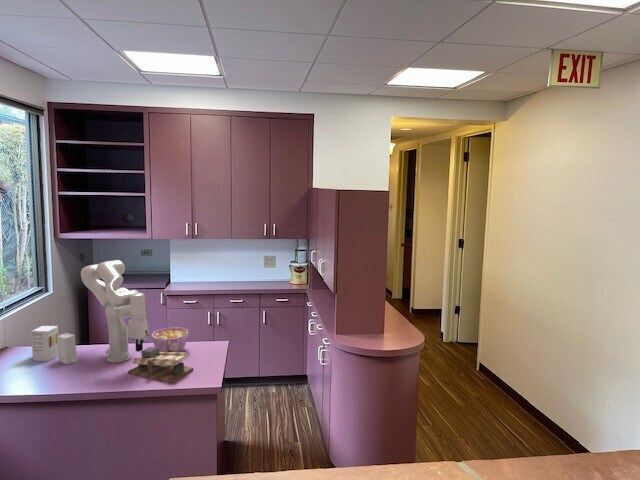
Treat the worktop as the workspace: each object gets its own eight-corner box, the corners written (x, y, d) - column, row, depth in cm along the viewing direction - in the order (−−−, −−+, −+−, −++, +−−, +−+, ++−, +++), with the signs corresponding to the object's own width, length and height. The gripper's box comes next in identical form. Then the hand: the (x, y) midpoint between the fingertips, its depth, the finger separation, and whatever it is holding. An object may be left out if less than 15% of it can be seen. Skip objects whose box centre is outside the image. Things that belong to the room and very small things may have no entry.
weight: (142, 359, 221) (141, 351, 221) (150, 355, 227) (149, 347, 226) (151, 359, 219) (150, 351, 219) (159, 355, 224) (158, 347, 224)
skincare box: (77, 361, 233) (76, 335, 231) (66, 365, 228) (64, 338, 226) (69, 357, 237) (67, 331, 235) (57, 361, 232) (56, 335, 230)
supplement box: (49, 361, 232) (47, 331, 230) (32, 361, 232) (30, 331, 230) (60, 354, 241) (58, 325, 239) (43, 354, 242) (42, 325, 239)
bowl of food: (177, 360, 236) (176, 340, 234) (144, 357, 240) (144, 337, 238) (195, 347, 255) (194, 328, 254) (164, 344, 259) (164, 326, 258)
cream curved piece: (131, 365, 219) (130, 360, 219) (150, 355, 232) (149, 350, 232) (172, 366, 210) (171, 361, 209) (189, 356, 222) (189, 351, 222)
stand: (128, 373, 219) (127, 356, 218) (150, 361, 234) (150, 345, 233) (172, 383, 209) (172, 365, 208) (193, 370, 224) (192, 353, 223)
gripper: (121, 317, 222) (122, 351, 224) (143, 320, 217) (145, 355, 219) (132, 313, 229) (133, 346, 231) (154, 316, 224) (155, 350, 226)
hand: (139, 350), depth 225 cm, fingers closed
